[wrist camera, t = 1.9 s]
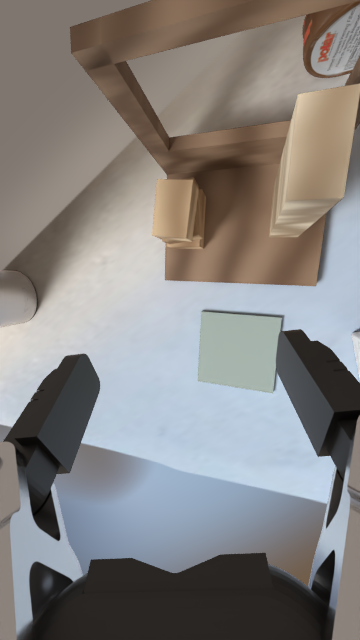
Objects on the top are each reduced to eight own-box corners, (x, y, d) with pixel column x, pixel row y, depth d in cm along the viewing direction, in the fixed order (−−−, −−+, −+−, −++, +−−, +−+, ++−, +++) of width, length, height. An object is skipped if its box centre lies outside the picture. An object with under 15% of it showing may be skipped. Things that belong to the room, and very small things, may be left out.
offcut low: (172, 249, 29) (166, 246, 27) (174, 198, 28) (167, 191, 26) (203, 249, 28) (199, 246, 26) (205, 196, 27) (202, 189, 25)
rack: (167, 280, 32) (82, 281, 15) (170, 168, 29) (70, 27, 13) (313, 285, 27) (413, 296, 10) (332, 151, 24) (506, -116, 8)
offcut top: (161, 239, 25) (152, 235, 22) (165, 188, 24) (157, 179, 21) (192, 241, 24) (186, 237, 22) (198, 189, 23) (192, 179, 20)
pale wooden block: (268, 237, 26) (286, 200, 14) (274, 184, 25) (298, 94, 13) (297, 237, 25) (343, 197, 13) (304, 182, 24) (361, 83, 12)
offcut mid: (169, 244, 27) (162, 241, 25) (164, 193, 26) (156, 185, 24) (202, 238, 26) (198, 235, 23) (198, 186, 25) (193, 176, 23)
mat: (198, 379, 33) (197, 381, 32) (201, 311, 31) (201, 311, 31) (272, 391, 30) (272, 393, 30) (281, 317, 28) (281, 317, 28)
